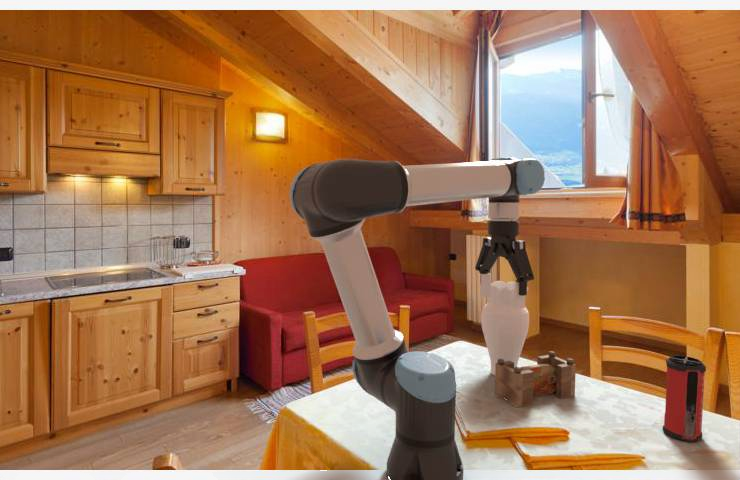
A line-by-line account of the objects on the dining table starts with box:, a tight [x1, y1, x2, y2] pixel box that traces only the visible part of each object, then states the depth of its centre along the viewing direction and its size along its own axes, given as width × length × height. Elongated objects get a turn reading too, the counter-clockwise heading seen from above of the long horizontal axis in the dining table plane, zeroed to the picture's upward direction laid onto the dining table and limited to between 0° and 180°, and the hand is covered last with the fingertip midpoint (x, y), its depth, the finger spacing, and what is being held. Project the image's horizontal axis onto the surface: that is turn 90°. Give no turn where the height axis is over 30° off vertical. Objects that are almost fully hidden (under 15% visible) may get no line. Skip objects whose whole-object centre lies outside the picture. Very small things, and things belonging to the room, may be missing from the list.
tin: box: [519, 364, 557, 398], centre depth 131 cm, size 15×3×8 cm, turn 107°
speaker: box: [662, 355, 707, 443], centre depth 107 cm, size 8×8×18 cm
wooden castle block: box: [494, 350, 577, 408], centre depth 130 cm, size 10×20×10 cm, turn 112°
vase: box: [480, 280, 530, 377], centre depth 146 cm, size 15×15×29 cm
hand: (501, 302), depth 118 cm, fingers open, 13 cm apart
